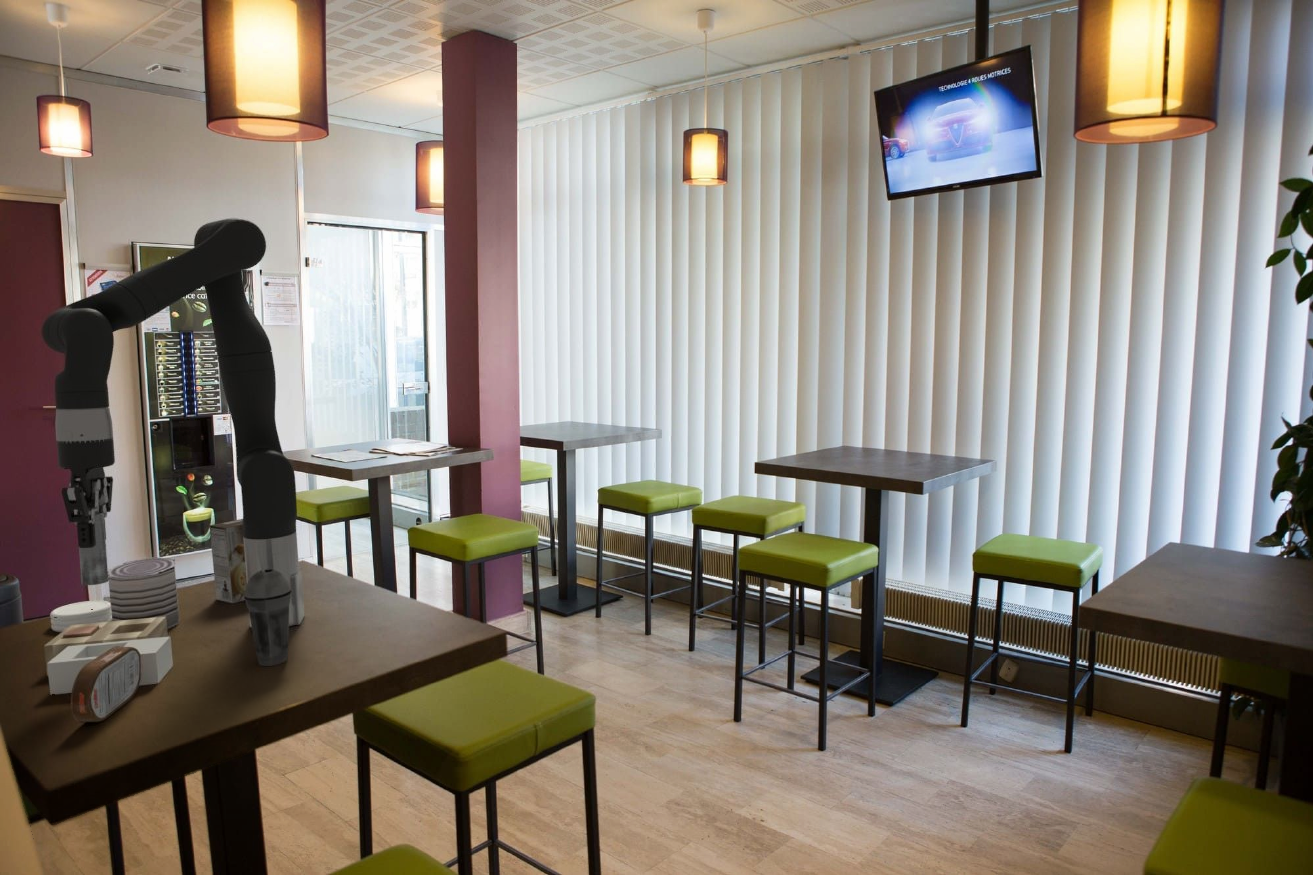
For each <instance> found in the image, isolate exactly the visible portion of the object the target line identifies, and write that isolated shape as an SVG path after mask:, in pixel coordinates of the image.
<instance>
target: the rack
mask: <svg viewBox="0 0 1313 875" xmlns="http://www.w3.org/2000/svg"><path fill="white" fill-rule="evenodd" d="M171 637H172V636H168V637H159V638H149V639H139V640H128V641H118V642H107V643H97V644H86V645H76V646H68V647H67V648H65V649H64V650H63V651H62V652H61V653H59V654H58V655H57V656H56V657H54V658H53V659H52V660H51V661H50V662H48V663H47V667H48V685H49V693H50V695H49V696H52V694H55V695H61V694H63V695H64V694H71V693H72V688H73V684H74V681H75V679H76V677H77V675H78V673H79V671H80V670H81V669H82V667H83V666H84V665H85V664H87V663H88V662H90V661H92V660H93V659H95V658H97V657H98V656H100V655H101V654H103V653H104V652H106V651H108V650H109V649H111V648H112V647H114V646H120V647H134V648H136V649H137V650H138V651H139V653H140V655H141V679H140V683H139V686H146V685H148V686H149V685H156V684H159V683H161V681H162V680H163V678H164V677H165V676H166V675H167V673H168V672H169V671H170V670H171V669H172V668H173V667H174V662H173V652H172V651H173V649H172V640H171Z"/></svg>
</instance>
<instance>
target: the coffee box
mask: <svg viewBox="0 0 1313 875" xmlns="http://www.w3.org/2000/svg"><path fill="white" fill-rule="evenodd" d="M242 523H243V518H241V519H239V518H238V519H236V520H229V521H225V522H219V523H215V524H210V525H209V536H210V545H211V557H212V567H213V575H214V577H213V579H214V586H215V587H214V588H215V598H216V600H217V601H222V602H225V603H230V604H236V603H240V602H243V601H246V599H244V595H245V588H246V585H247V579H246V566H245V553H244V540H243V529H242Z"/></svg>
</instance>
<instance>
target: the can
mask: <svg viewBox="0 0 1313 875" xmlns="http://www.w3.org/2000/svg"><path fill="white" fill-rule="evenodd" d="M108 588H109V599H110V601H109V603H111V612H112V620H111V621H122V620H133V619H144V618H155V617H166V621H167V630H170V629H172V628H174V627H176V626H179V624H180V611H179V610H180V609H179V597H178V587H177V576H176V560H175V558H164V557H150V558H149V557H148V558H143V559H136V560H130V561H126V562H124V563H121V564H119V565H116V566H113V567H111V568H109V569H108ZM175 625H176V626H175ZM171 627H172V628H171Z"/></svg>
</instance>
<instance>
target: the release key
mask: <svg viewBox="0 0 1313 875" xmlns="http://www.w3.org/2000/svg"><path fill="white" fill-rule="evenodd" d="M98 630H99V625H97V626H86V627H75V628H72V629H70V630H69V631H68V632H66V633H65V634H64V635H63V638H74V637H85V636H92V635H93V634H94V633H96V632H97V631H98Z"/></svg>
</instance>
